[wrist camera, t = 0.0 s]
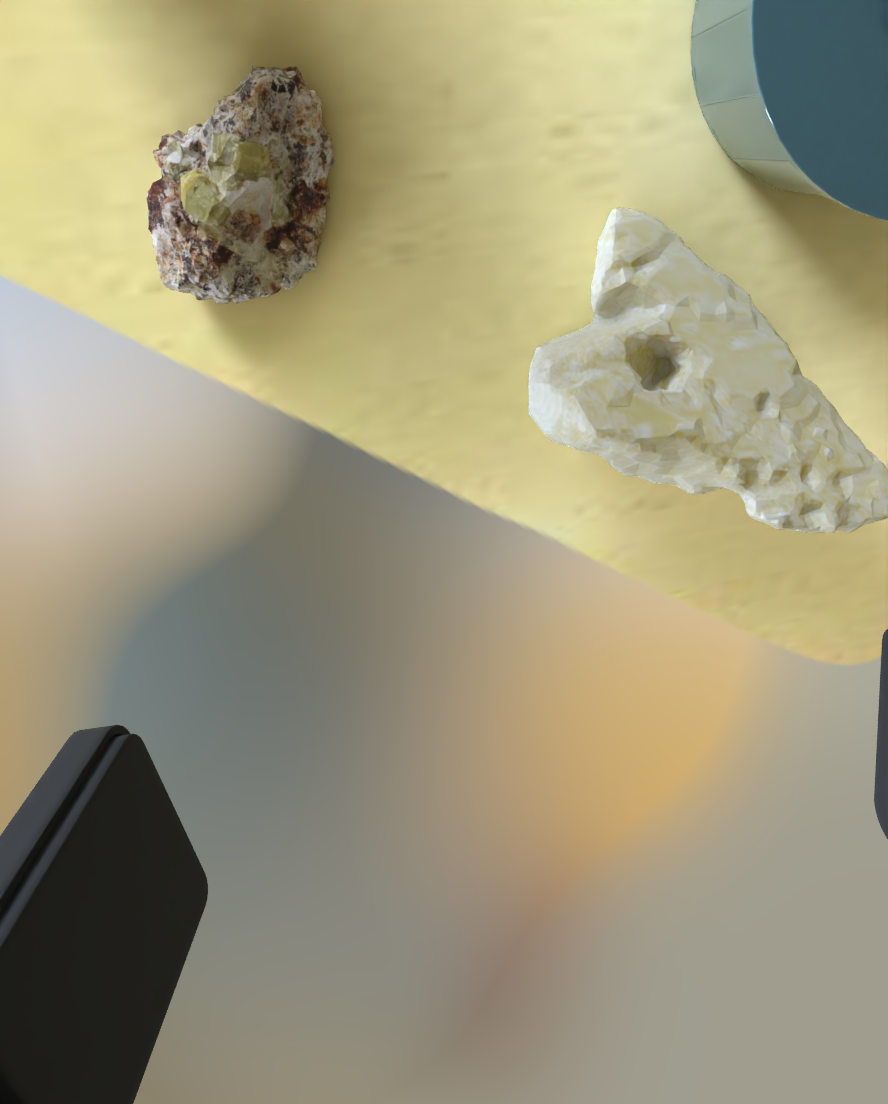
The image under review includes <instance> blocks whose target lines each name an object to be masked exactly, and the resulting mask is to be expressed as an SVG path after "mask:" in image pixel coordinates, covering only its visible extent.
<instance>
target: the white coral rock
mask: <svg viewBox="0 0 888 1104" xmlns="http://www.w3.org/2000/svg"><path fill="white" fill-rule="evenodd" d="M591 295H592V302H591V305H592V309H593V311H594V318H593V320H592V322H591V323H589V324H588V325H586V326H585V327H583V328H581V329H580V330H576V331H573V332H571V333H569V334H567V335H564V336H560V337H557V338H554V339H552V340H550V341H548V342H546V343H544V344H542V345H540V346H538V347H537V349H536V352H535V355H534V358H533V360H532V363H531V366H530V371H529V381H528V386H529V414H530V416H531V417H532V418H533V420H534V421H535V422H536V423H537V425H538V426H539V428H540V429H541V430H542V432H543V433H544V434H545V435H546V436H547V437H548V438H549V439H550V440H551V441H554V442H556V443H559V444H561V445H565V446H569V447H571V448H573V449H575V450H578V451H582V452H587V453H594V454H597V455H599V456H602V457H603V459H605V460H606V461H608V462H609V464H610V465H611V466H613V467H614V468H615V469H616V470H618V471H619V472H621V473H624V474H625V475H626V476H629V477H640V478H642V479H645V480H647V481H649V482H653V483H659V484H666V485H674V486H678V487H680V488H681V489H683V490H684V491H686V492H688V493H689V494H691V495H693V494H704V493H706V492H712V491H716V490H719V489H722V488H727V489H730V490H732V491H734V492H736V493H737V494H738V495H739V496H740V497H741V498H742V499H743V501H744V503H745V505H746V512H747V513H748V515H749V516H750V517H751V518H753V519H755V520H757V521H759V522H762V523H764V524H767V525H769V526H771V527H773V528H776V529H779V530H780V529H789V530H795V531H802V532H810V533H823V532H835V531H847V532H852V531H854V530H856V529H857V528H859V527H861V526H863V525H865V524H868V523H873V522H876V521H879V520H884V519H887V518H888V470H887V468H886V466H885V465H884V464H883V463H882V462H881V461H880V460H879V459H878V458H877V457H876V456H875V455H874V454H872V453H871V452H870V451H869V450H868V449H866V447H865V446H864V444H863V443H862V441H861V440H860V439H859V437H858V436H857V435H856V434H855V433H854V432H853V431H852V430H851V429H850V428H849V427H848V426H847V425H846V424H845V423H844V422H843V420H842V419H841V417H840V416H839V414H838V412H837V410H836V409H835V407H834V406H833V405H832V404H831V403H830V402H829V401H828V400H827V399H826V398H825V396H824V395H823V393H822V392H821V391H820V389H819V388H818V387H817V386H816V385H815V384H814V383H813V382H812V381H810V380H808V379H806V378H805V377H803V376H802V374H801V371H800V369H799V366H798V363H797V360H796V359H795V358H794V356H793V355H792V354H791V351H790V349H789V347H788V345H787V343H786V342H785V341H784V340H783V339H782V338H781V337H780V336H779V335H778V334H777V333H776V332H775V330H774V329H773V328H772V326H771V325H770V323H769V322H768V321H767V319H766V318H765V317H764V316H763V315H762V314H761V313H760V312H759V311H758V309H757V308H756V307H755V306H754V305H753V304H752V301H751V298H750V295H749V294H748V293H747V292H745V291H744V290H743V289H741V288H740V287H739V286H738V285H736V284H735V283H734V282H733V281H732V280H731V279H729V278H728V277H727V276H726V275H723V274H720V273H717V272H715V271H714V270H712V269H711V268H710V267H708V266H707V265H705V264H704V263H703V262H702V261H701V260H700V259H699V258H698V257H697V256H696V255H695V254H694V253H693V252H692V251H691V250H690V249H689V248H688V247H687V246H686V245H685V244H684V242H683V241H682V239H681V238H680V237H679V236H677V235H676V234H675V233H674V232H673V231H671V230H670V229H669V228H668V227H666V226H665V225H664V224H662V223H661V222H660V221H659V220H657V219H655V218H653V217H651V216H649V215H647V214H646V213H643V212H640V211H636V210H633V209H627V208H623V207H619V208H616V209H613V210H612V211H611V213H610V215H609V217H608V220H607V223H606V225H605V228H604V230H603V232H602V235H601V237H600V238H599V241H598V246H597V260H596V264H595V272H594V277H593V281H592V285H591Z"/></svg>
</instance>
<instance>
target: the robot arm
mask: <svg viewBox="0 0 888 1104" xmlns="http://www.w3.org/2000/svg"><path fill="white" fill-rule="evenodd" d="M874 801H875V809H876V813H877V817H878V820H879V823H880V826H881V828H882V830H883V832H884V834H885V835H886V837H887V839H888V630H886V631H885V632H884V634H883V639H882V655H881V674H880V695H879V714H878V735H877V754H876V775H875V794H874ZM207 895H208V884H207V878H206V875H205V872H204V870H203V868H202V866H201V864H200V862H199V860H198V858H197V856H196V853H195V851H194V849H193V847H192V845H191V842H190V841H189V838H188V836H187V834H186V832H185V830H184V828H183V826H182V824H181V821H180V819H179V817H178V815H177V813H176V810H175V808H174V807H173V804H172V802H171V800H170V798H169V796H168V793H167V792H166V790H165V787H164V785H163V783H162V781H161V779H160V776H159V774H158V772H157V770H156V768H155V766H154V764H153V761H152V760H151V757H150V755H149V753H148V751H147V749H146V747H145V744H144V742H143V741H142V739H141V738H140V737H139V736H138V735H136V734H130V733H129V731H128V730H127V729H126V728H125V727H123V726H120V725H114V726H107V727H99V728H92V729H85V730H79V731H77V732H74V733H73V734H72V736H71V737H69V739H68V740H67V741H66V743H65V744H64V746H63V747H62V749H61V750H60V752H59V753H58V754H57V756H56V757H55V759H54V760H53V761H52V763H51V764H50V766H49V767H48V769H47V770H46V771H45V773H44V775H43V776H42V777H41V779H40V780H39V781H38V783H37V784H36V786H35V787H34V789H33V790H32V792H31V793H30V794H29V796H28V797H27V799H26V800H25V802H24V803H23V804H22V806H21V807H20V809H19V810H18V812H17V813H16V814H15V816H14V817H13V819H12V820H11V821H10V823H9V825H8V826H7V827H6V829H5V830H4V832H3V833H2V834H1V836H0V1104H133V1103H134V1100H135V1097H136V1094H137V1092H138V1089H139V1086H140V1083H141V1081H142V1078H143V1075H144V1072H145V1070H146V1067H147V1064H148V1061H149V1058H150V1056H151V1053H152V1051H153V1048H154V1045H155V1042H156V1039H157V1037H158V1034H159V1031H160V1029H161V1026H162V1023H163V1020H164V1018H165V1015H166V1012H167V1010H168V1006H169V1004H170V1001H171V998H172V996H173V993H174V990H175V988H176V985H177V982H178V979H179V977H180V974H181V971H182V968H183V966H184V963H185V960H186V957H187V955H188V952H189V949H190V947H191V944H192V941H193V938H194V936H195V933H196V930H197V927H198V924H199V922H200V919H201V916H202V914H203V911H204V908H205V905H206V901H207Z"/></svg>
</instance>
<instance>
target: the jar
mask: <svg viewBox="0 0 888 1104" xmlns="http://www.w3.org/2000/svg"><path fill="white" fill-rule="evenodd" d="M747 4H748V0H696V3H695V10H694V16H693V23H692V34H691V62H692V75H693V80H694V85H695V90H696V95H697V98H698V101H699V104H700V107H701V110H702V113H703V116H704V118H705V120H706V122H707V124H708V126H709V128H710V130H711V132H712V134H713V135H714V137H715V138H716V140H717V141H718V142H719V144H720V145H721V147H722V148H723V150H724V151H725V152H726V153H727V154H728V156H729V157H730V158H731V159H732V160H733V161H734V162H736V163H737V164H738V165H739V166H741V167H742V168H743V169H745V170H746V171H747V172H748V173H750V174H751V175H753V176H755V177H757V178H759V179H760V180H762V181H764V182H766V183H768V184H769V185H771V186H772V187H774V188H775V189H778V190H783V191H790V192H797V193H804V194H811V195H818V196H825V195H823V194H822V193H821V192H819V191H818V190H817V189H816V188H814V187H813V186H812V185H811V184H809V183H808V182H807V181H806V180H805V179H804V178H803V177H802V176H801V175H800V174H799V173H798V171H797V170H796V169H795V168H794V167H793V166H792V165H791V164H790V163H789V161H788V160H787V158H786V157H785V155H784V154H783V152H782V151H781V149H780V148H779V146H778V145H777V143H776V142H775V140H774V139H773V137H772V134H771V132H770V130H769V128H768V126H767V124H766V122H765V119H764V117H763V115H762V113H761V109H760V106H759V103H758V100H757V96H756V93H755V90H754V86H753V82H752V76H751V70H750V64H749V58H748V46H747V24H746V19H747ZM825 197H826V196H825Z"/></svg>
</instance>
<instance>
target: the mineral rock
mask: <svg viewBox="0 0 888 1104" xmlns="http://www.w3.org/2000/svg"><path fill="white" fill-rule="evenodd" d="M321 104H322V101H321V100H320V99H319V97H318V95H317V94H316V92H315V91H314V90H308V89H307V87H306V85H305V84H304V82H303V79H302V76H301V73H300V72H299V71H298V69H297V67H289V68H285V69H278V68H267V69H266V68H264V67H254V66H252V71H251V72H250V73H248V74H247V75H246V76H245V77H244V78H243V80H242V81H241V82H240V87H239V88H238V89H237V90H236V91H235V92H233V94H232V95H230V96H225V97H224V99H223V101H218V103H217V105H216V107H215V109H214V116H210V117H209V119H208V121H207V122H206V123H205V124H204V125H202V124H196V125H194V126H192V127H190V128H189V129H188V134H187V135H185V134H184V133H182V132H181V131H179V130H178V131H177V132H176V133H175V134H173V135H169V134H167V135H165V136H162V140H161V143H160V145H159V149H158V150H154V151H153V154H154V158H155V161H156V163H157V164H158V166H159V167H160V168H161V173H162V178H161V179H160V180H158V181H156V182H154V183H153V184H152V186H151V188H150V190H149V191H148V194H147V204H148V218H149V228H148V229H149V230H150V232H151V234H152V237H153V241H154V243H153V247H154V252H155V256H156V261H157V264H158V269H159V272H160V278H161V281H162V282H163V283H164V285H165V286H166V287H167V288H169V289H171V290H177V291H179V292H183V293H191V294H193V295H194V296H196V298H197V300H208V299H214V300H215V301H216V302H217V303H229V302H230V301H233V302H235V303H239V302H244V301H247V300H248V299H253V298H259V297H268V296H270V295H272V294H275V293H277V292H278V291H279V290H280V289H281V288H286V290H289V289H291V288H293V287H295V286H296V284H297V283H298V280H299V279H301V278H302V275H304V274H306V273H308V272H309V271H315V269H316V266H317V261H316V255H317V251H318V248H319V245H320V240H319V238H318V237H319V234H320V233H321V232H322V230H323V228H324V223H325V221H326V209H325V205H326V203H327V201H328V200H329V199H330V197H329V193H328V186H327V181H326V180H327V177H328V172H329V169H330V168H331V167H332V165H333V163H334V154H333V149H332V145H331V140H332V139H331V138H330V137H329V136H328V133H327V132H326V131H325V129H324V128H323V126H322V125H321V121H322V111H321Z"/></svg>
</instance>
